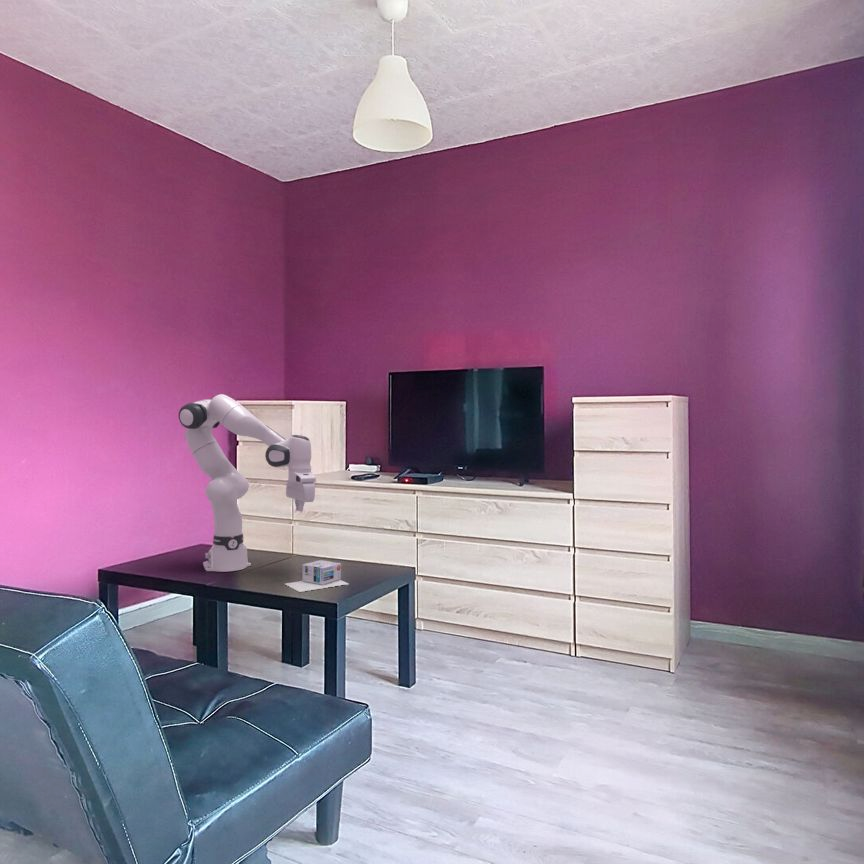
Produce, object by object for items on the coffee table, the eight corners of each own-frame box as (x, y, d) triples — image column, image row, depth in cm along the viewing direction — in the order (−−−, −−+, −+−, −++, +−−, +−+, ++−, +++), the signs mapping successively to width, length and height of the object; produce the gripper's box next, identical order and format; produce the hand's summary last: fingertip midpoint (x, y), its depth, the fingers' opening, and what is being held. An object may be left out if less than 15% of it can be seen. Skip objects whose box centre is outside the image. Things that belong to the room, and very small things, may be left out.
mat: (284, 584, 250) (284, 583, 250) (332, 577, 262) (332, 576, 261) (299, 592, 239) (299, 591, 239) (349, 584, 250) (349, 583, 250)
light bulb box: (301, 581, 253) (323, 585, 247) (301, 563, 253) (323, 567, 247) (320, 576, 262) (341, 580, 256) (320, 559, 262) (341, 562, 256)
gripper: (282, 474, 269) (281, 508, 269) (302, 478, 252) (302, 514, 253) (296, 473, 273) (296, 507, 273) (317, 478, 256) (317, 513, 256)
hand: (299, 511), depth 263 cm, fingers closed
